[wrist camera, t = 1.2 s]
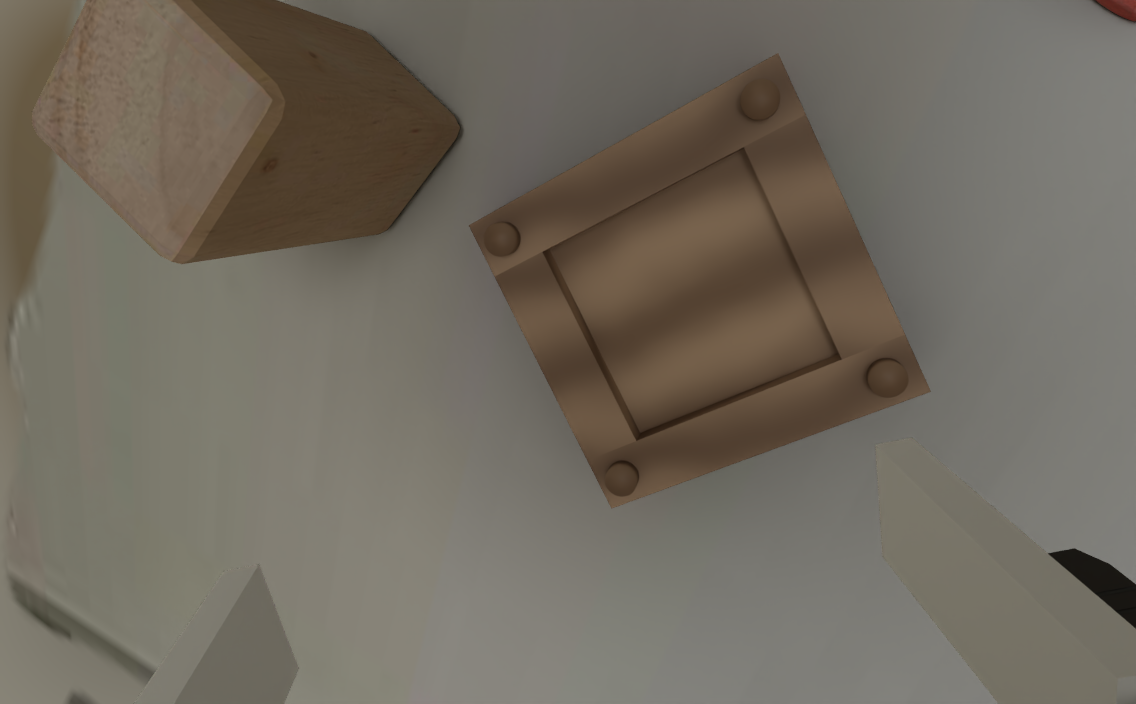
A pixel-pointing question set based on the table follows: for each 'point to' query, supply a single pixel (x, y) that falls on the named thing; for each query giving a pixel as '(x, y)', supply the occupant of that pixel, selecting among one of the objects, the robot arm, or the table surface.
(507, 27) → the table surface
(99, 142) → the wooden block
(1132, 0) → the stacking bear
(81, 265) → the table surface
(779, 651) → the table surface
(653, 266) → the base plate
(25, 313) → the table surface
